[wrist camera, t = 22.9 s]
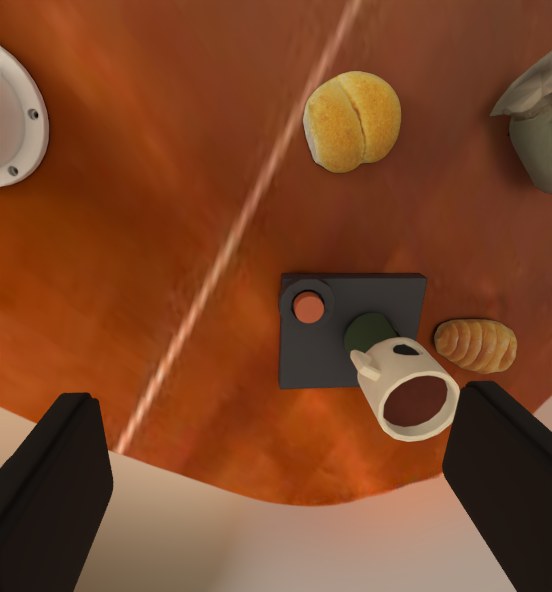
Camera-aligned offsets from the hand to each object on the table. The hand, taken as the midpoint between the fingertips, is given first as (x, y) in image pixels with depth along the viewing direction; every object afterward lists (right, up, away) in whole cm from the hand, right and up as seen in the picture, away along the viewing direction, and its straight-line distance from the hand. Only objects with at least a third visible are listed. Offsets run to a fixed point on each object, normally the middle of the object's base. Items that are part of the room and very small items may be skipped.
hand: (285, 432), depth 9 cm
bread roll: (+7, +20, +26) cm, 33 cm away
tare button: (+3, +3, +28) cm, 29 cm away
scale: (+8, 0, +33) cm, 34 cm away
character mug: (+10, -1, +32) cm, 34 cm away
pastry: (+24, -2, +36) cm, 43 cm away
